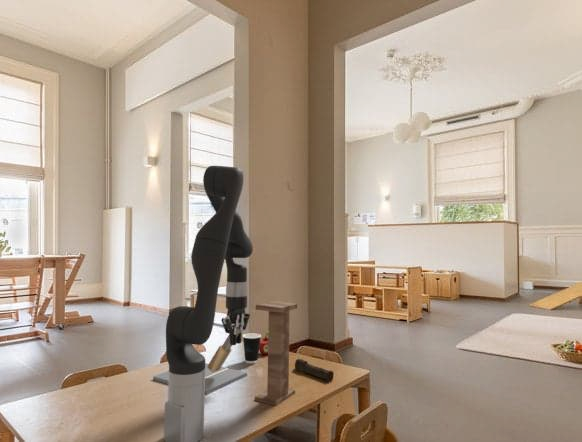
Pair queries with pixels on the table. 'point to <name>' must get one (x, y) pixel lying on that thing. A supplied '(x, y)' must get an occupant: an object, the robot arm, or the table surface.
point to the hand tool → (313, 370)
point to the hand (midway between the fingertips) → (235, 343)
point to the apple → (264, 345)
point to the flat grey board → (211, 378)
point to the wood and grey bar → (221, 354)
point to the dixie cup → (251, 347)
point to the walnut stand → (277, 352)
